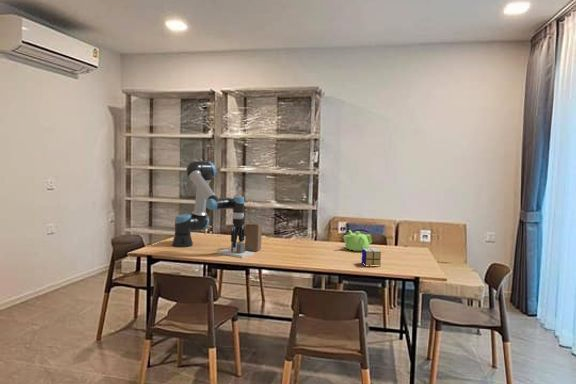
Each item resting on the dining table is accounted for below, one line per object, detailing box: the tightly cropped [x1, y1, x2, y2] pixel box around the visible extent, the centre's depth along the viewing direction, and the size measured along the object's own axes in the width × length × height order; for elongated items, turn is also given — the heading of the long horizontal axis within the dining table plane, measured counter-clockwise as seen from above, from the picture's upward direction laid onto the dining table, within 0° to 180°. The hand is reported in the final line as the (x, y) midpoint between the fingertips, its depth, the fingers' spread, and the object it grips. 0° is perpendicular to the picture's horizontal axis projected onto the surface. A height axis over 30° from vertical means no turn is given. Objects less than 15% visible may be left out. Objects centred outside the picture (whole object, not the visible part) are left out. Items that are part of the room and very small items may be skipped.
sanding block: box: [230, 241, 246, 253], centre depth 303 cm, size 8×5×6 cm, turn 60°
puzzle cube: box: [361, 248, 382, 266], centre depth 286 cm, size 10×10×10 cm
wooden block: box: [244, 221, 263, 253], centre depth 319 cm, size 10×10×20 cm
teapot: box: [342, 229, 373, 252], centre depth 335 cm, size 19×20×14 cm
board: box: [216, 247, 255, 258], centre depth 305 cm, size 22×14×2 cm, turn 60°
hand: (237, 251), depth 303 cm, fingers closed on sanding block, 5 cm apart
